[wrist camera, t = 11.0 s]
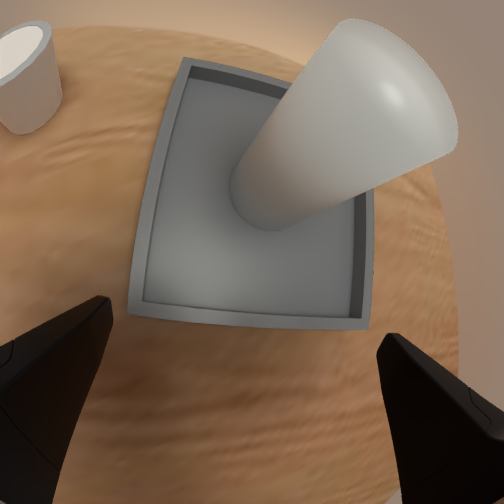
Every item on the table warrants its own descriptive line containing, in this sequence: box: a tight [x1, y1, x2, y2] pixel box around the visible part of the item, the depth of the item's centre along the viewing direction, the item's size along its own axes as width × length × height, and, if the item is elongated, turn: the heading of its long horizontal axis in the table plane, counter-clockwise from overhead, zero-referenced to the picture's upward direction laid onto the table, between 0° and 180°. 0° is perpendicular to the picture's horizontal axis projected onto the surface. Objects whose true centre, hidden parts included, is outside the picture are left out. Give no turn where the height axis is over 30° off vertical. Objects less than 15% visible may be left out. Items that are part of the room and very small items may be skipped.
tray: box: [127, 57, 374, 330], centre depth 19 cm, size 18×16×2 cm
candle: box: [229, 19, 458, 231], centre depth 13 cm, size 6×6×13 cm
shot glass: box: [0, 21, 63, 135], centre depth 12 cm, size 7×7×7 cm
